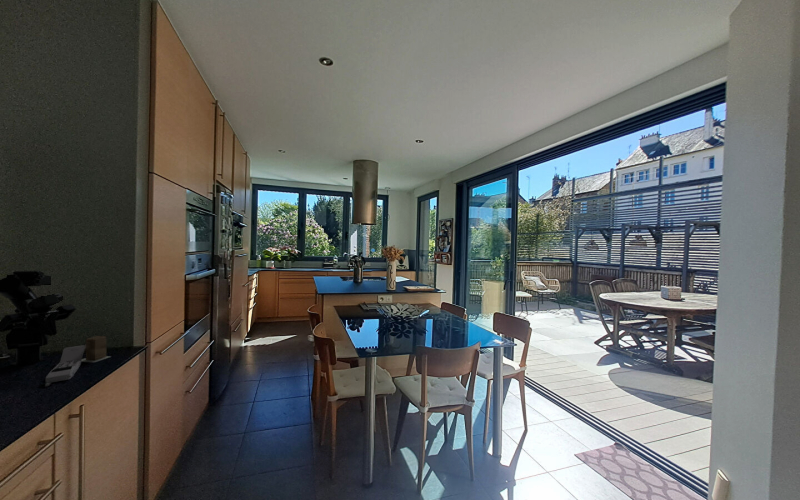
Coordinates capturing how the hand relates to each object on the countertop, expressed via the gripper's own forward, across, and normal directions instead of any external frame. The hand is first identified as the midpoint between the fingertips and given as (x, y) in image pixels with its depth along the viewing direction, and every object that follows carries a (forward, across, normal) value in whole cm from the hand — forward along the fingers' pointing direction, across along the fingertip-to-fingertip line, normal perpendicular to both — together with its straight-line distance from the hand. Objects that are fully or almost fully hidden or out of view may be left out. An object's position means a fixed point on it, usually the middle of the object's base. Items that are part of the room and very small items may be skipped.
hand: (53, 334), depth 107 cm
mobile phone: (+13, 0, +5) cm, 14 cm away
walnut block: (+11, +11, +6) cm, 17 cm away
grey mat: (+11, +10, +6) cm, 17 cm away
